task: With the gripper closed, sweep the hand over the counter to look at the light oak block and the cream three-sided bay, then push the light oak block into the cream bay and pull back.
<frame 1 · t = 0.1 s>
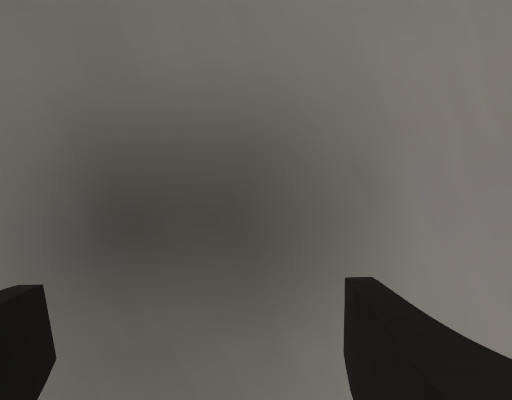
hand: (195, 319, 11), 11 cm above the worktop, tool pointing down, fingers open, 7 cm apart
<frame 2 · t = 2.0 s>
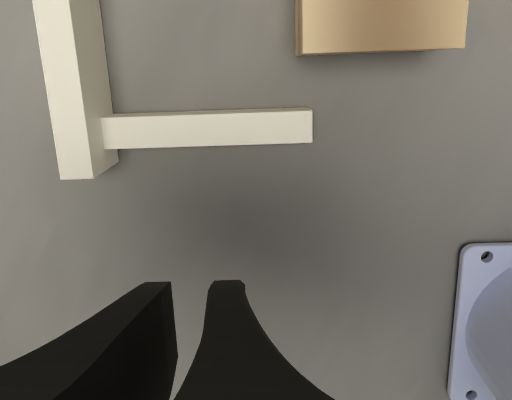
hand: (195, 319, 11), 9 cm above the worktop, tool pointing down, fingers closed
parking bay: (203, 4, 18), on the worktop
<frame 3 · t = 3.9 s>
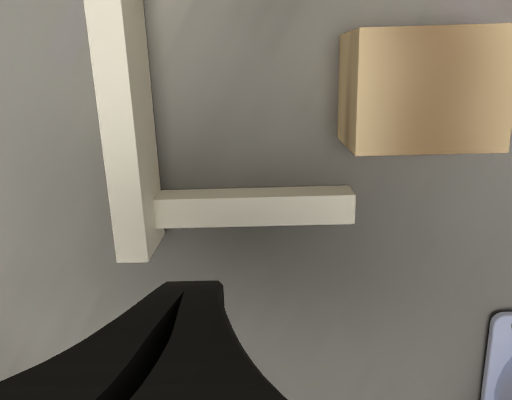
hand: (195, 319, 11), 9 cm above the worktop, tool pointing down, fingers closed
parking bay: (251, 91, 19), on the worktop
oak block: (401, 86, 19), on the worktop
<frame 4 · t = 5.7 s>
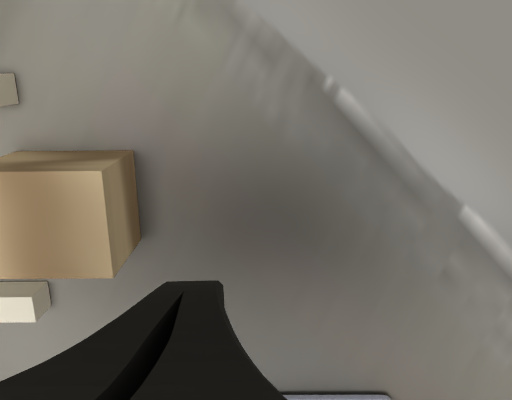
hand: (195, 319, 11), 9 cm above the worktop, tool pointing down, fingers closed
oak block: (80, 195, 20), on the worktop
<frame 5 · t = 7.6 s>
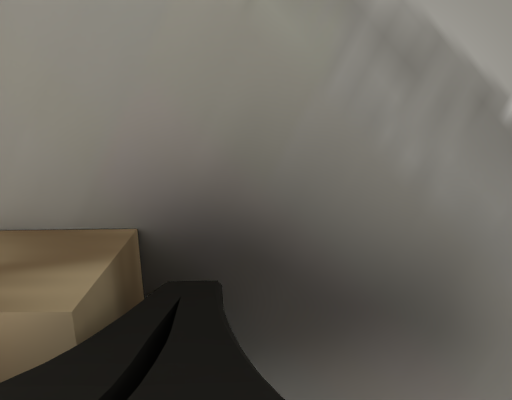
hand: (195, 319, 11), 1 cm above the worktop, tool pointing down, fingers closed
oak block: (49, 302, 12), on the worktop, touching gripper
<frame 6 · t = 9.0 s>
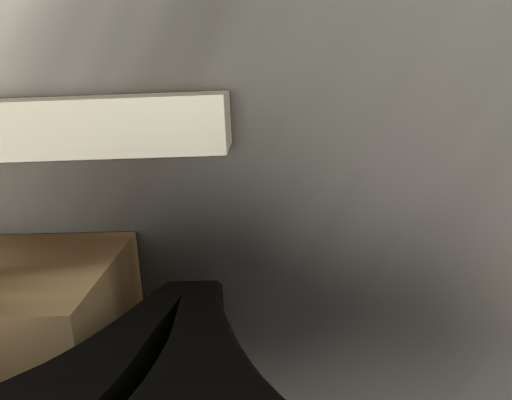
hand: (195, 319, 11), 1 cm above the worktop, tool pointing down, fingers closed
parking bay: (86, 301, 12), on the worktop
oak block: (48, 305, 12), resting in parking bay, touching gripper
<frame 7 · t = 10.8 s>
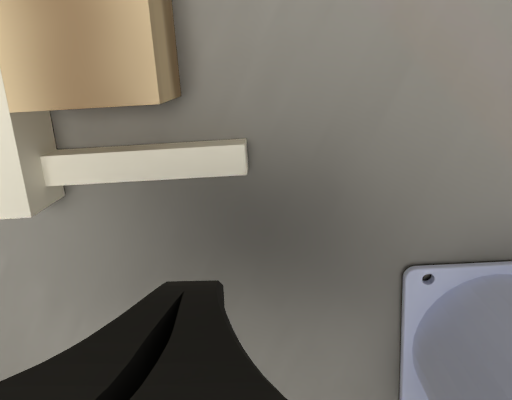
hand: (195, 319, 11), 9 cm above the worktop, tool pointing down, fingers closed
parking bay: (137, 43, 18), on the worktop
oak block: (114, 48, 18), resting in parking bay
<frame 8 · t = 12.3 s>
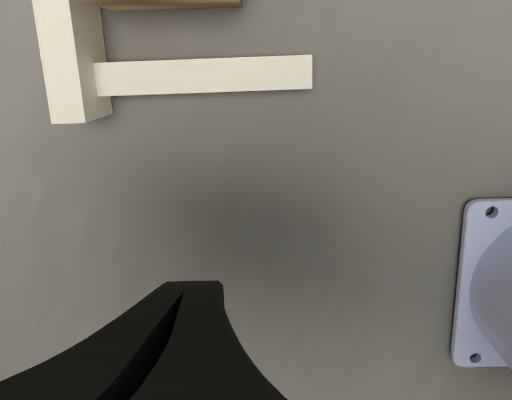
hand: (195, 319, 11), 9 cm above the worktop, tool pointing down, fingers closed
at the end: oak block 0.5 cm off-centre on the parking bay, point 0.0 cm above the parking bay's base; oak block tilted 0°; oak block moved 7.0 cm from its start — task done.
